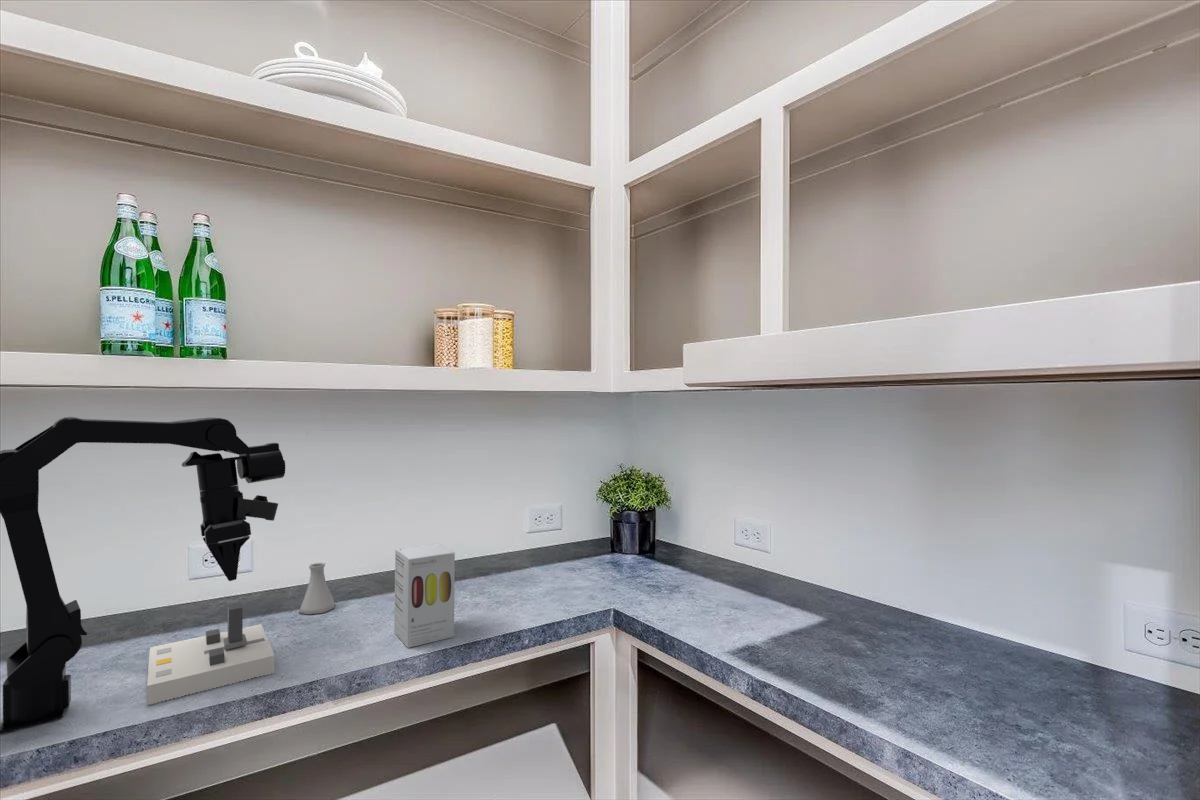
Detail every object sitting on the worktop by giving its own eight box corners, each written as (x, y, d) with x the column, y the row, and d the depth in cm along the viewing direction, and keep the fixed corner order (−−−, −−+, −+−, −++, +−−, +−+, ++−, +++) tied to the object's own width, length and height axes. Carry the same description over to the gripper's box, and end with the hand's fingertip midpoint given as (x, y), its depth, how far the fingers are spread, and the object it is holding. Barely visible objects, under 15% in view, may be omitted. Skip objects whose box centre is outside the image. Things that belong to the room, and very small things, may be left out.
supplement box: (406, 649, 106) (406, 559, 106) (392, 632, 114) (392, 548, 114) (456, 636, 112) (455, 551, 112) (439, 621, 119) (439, 541, 119)
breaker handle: (225, 649, 98) (225, 611, 98) (223, 642, 101) (223, 605, 101) (246, 644, 100) (246, 607, 100) (244, 638, 103) (244, 601, 103)
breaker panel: (147, 705, 87) (147, 676, 87) (150, 664, 100) (150, 638, 100) (274, 672, 97) (274, 646, 97) (261, 639, 110) (261, 616, 110)
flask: (340, 603, 130) (340, 559, 130) (325, 615, 123) (325, 569, 123) (309, 603, 130) (309, 560, 130) (292, 615, 123) (292, 569, 123)
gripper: (279, 480, 98) (290, 570, 97) (264, 479, 112) (274, 558, 112) (200, 492, 91) (212, 590, 90) (195, 490, 106) (206, 574, 105)
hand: (230, 576), depth 100 cm, fingers open, 9 cm apart
